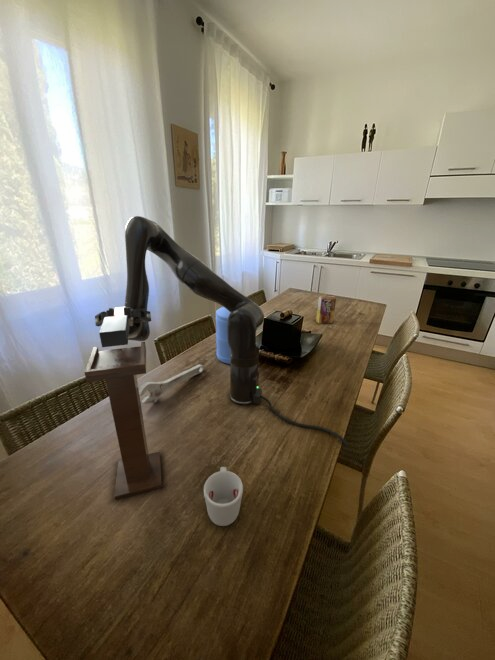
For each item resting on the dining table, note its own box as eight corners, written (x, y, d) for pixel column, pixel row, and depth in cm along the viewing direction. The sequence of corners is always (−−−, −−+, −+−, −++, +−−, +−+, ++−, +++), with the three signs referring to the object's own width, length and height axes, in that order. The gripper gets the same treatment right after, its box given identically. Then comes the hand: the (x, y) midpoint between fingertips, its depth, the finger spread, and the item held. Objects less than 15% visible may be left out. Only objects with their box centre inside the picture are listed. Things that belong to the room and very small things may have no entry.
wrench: (203, 377, 112) (141, 411, 88) (200, 375, 113) (137, 408, 89) (204, 358, 110) (140, 388, 85) (201, 357, 111) (136, 386, 86)
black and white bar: (111, 314, 67) (109, 302, 66) (131, 312, 68) (129, 300, 67) (102, 347, 51) (98, 332, 50) (127, 344, 53) (125, 330, 52)
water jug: (209, 360, 119) (208, 297, 108) (226, 345, 132) (226, 287, 121) (243, 368, 114) (245, 303, 103) (257, 352, 127) (259, 292, 116)
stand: (118, 463, 70) (93, 347, 57) (159, 454, 74) (145, 341, 60) (114, 499, 62) (84, 372, 49) (161, 487, 65) (145, 364, 52)
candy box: (329, 320, 166) (333, 295, 160) (332, 323, 162) (336, 297, 156) (315, 320, 165) (318, 296, 159) (318, 323, 161) (321, 298, 155)
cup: (206, 485, 66) (205, 460, 63) (240, 483, 66) (240, 458, 63) (203, 533, 56) (202, 507, 53) (243, 531, 57) (244, 504, 53)
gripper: (98, 312, 77) (81, 297, 60) (152, 307, 81) (149, 293, 64) (101, 339, 76) (84, 332, 59) (154, 333, 80) (153, 325, 64)
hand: (118, 312), depth 62 cm, fingers closed on black and white bar, 2 cm apart
